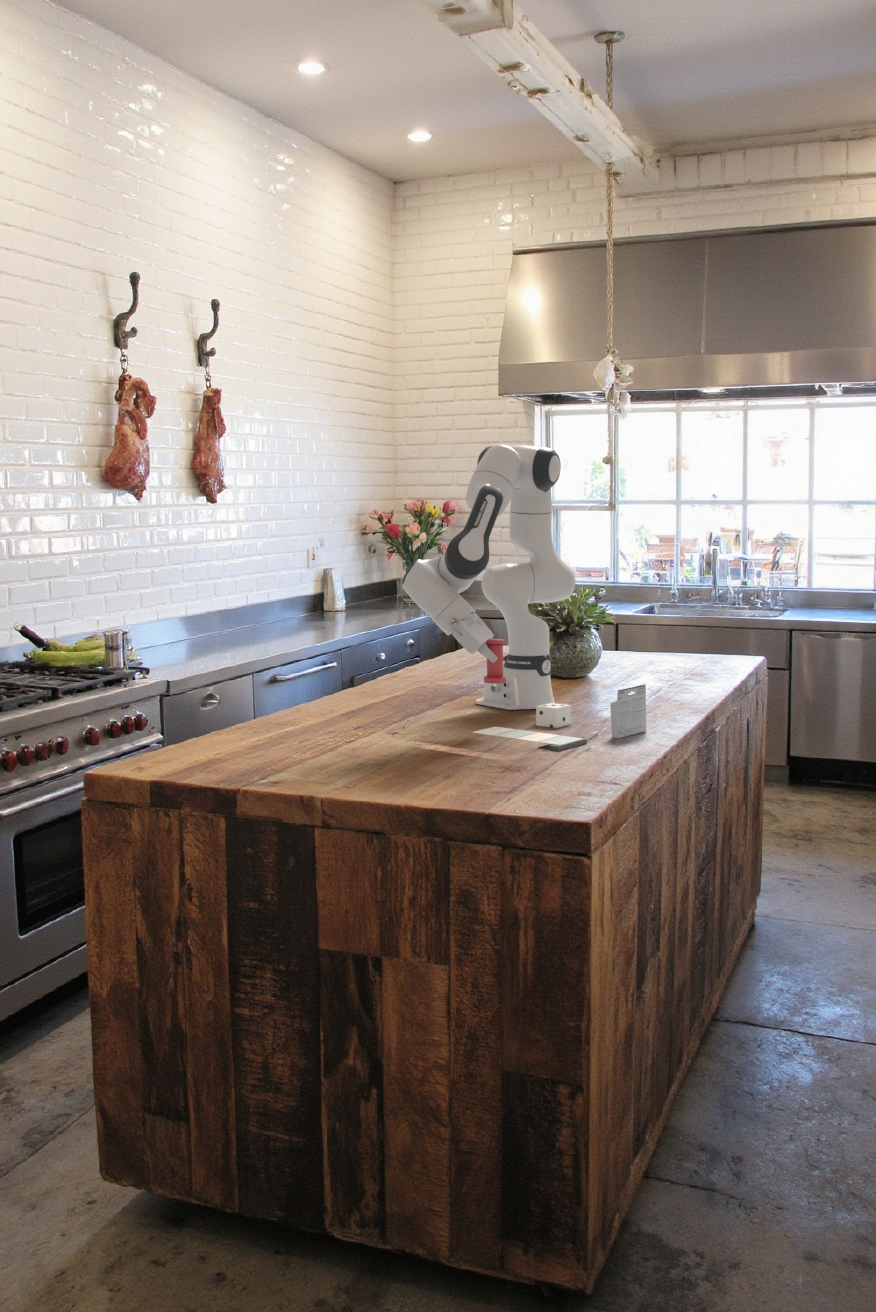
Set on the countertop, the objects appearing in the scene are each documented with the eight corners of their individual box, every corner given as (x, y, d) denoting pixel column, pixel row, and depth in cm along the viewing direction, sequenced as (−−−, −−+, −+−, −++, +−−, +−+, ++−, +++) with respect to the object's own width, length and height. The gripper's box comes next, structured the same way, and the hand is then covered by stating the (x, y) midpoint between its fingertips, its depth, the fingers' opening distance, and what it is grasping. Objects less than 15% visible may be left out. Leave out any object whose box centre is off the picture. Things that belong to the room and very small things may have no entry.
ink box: (638, 731, 278) (639, 683, 277) (646, 732, 276) (647, 684, 275) (609, 737, 270) (609, 688, 269) (617, 739, 268) (617, 689, 267)
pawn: (479, 682, 272) (479, 639, 271) (493, 679, 276) (493, 637, 275) (496, 684, 269) (496, 641, 268) (510, 681, 273) (510, 639, 271)
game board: (468, 737, 272) (468, 732, 272) (497, 730, 281) (497, 725, 281) (558, 751, 255) (558, 745, 255) (586, 743, 264) (586, 738, 264)
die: (536, 730, 281) (536, 705, 280) (550, 726, 285) (550, 702, 285) (556, 733, 277) (556, 708, 276) (571, 729, 281) (571, 704, 281)
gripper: (457, 611, 262) (500, 655, 261) (472, 604, 281) (512, 645, 281) (438, 631, 263) (481, 674, 262) (454, 622, 283) (494, 663, 282)
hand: (497, 659), depth 272 cm, fingers closed on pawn, 4 cm apart
